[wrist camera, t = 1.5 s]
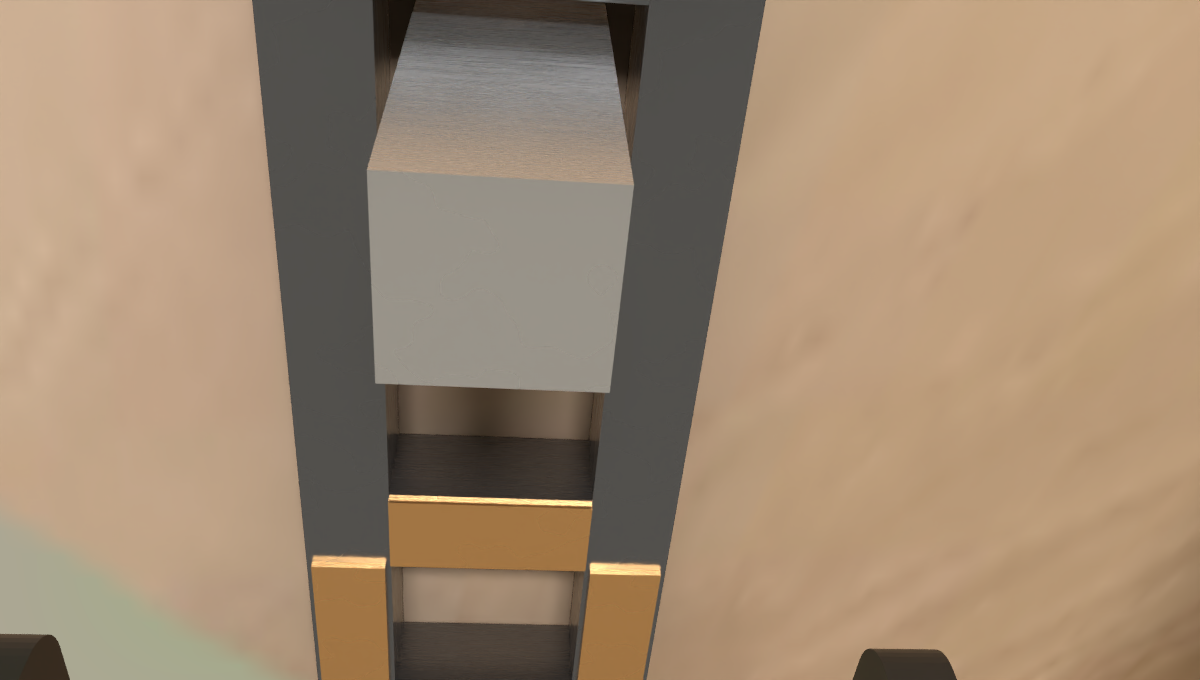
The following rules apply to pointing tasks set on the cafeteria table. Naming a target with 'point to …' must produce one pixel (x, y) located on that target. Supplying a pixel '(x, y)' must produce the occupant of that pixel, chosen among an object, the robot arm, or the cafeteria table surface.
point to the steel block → (500, 199)
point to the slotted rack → (494, 464)
